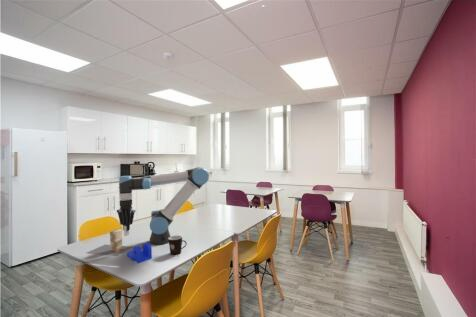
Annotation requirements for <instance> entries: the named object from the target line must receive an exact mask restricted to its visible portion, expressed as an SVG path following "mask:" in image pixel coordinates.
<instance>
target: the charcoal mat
mask: <svg viewBox="0 0 476 317" xmlns="http://www.w3.org/2000/svg"><path fill="white" fill-rule="evenodd" d="M131 249H133V245H132V246H131V245H122V250H120V251H118V252H111V251H110V244H103V245H101V246H98V247H97V248H94V249H91V250H89V251H87V252H86V254H88V255H89V254H91V255H100V256H114V257H117V256H119V255H121V254H123V253H125V252H126V251H128V250H131Z"/></svg>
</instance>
